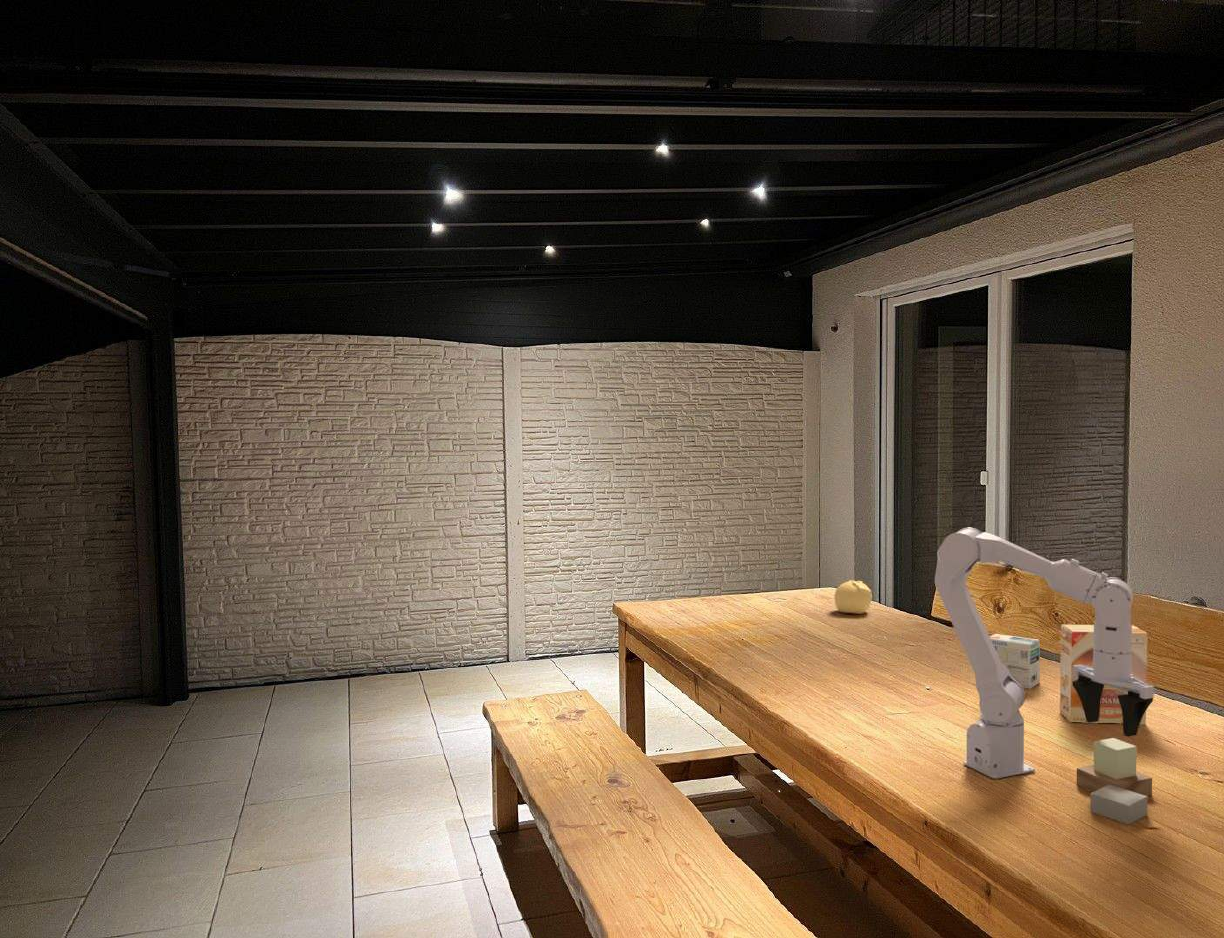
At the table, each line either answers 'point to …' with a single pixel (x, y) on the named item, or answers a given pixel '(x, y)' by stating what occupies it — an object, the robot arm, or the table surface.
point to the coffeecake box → (1081, 653)
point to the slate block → (1118, 804)
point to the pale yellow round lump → (853, 597)
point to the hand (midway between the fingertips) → (1110, 728)
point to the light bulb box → (1019, 658)
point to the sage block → (1115, 758)
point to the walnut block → (1113, 781)
